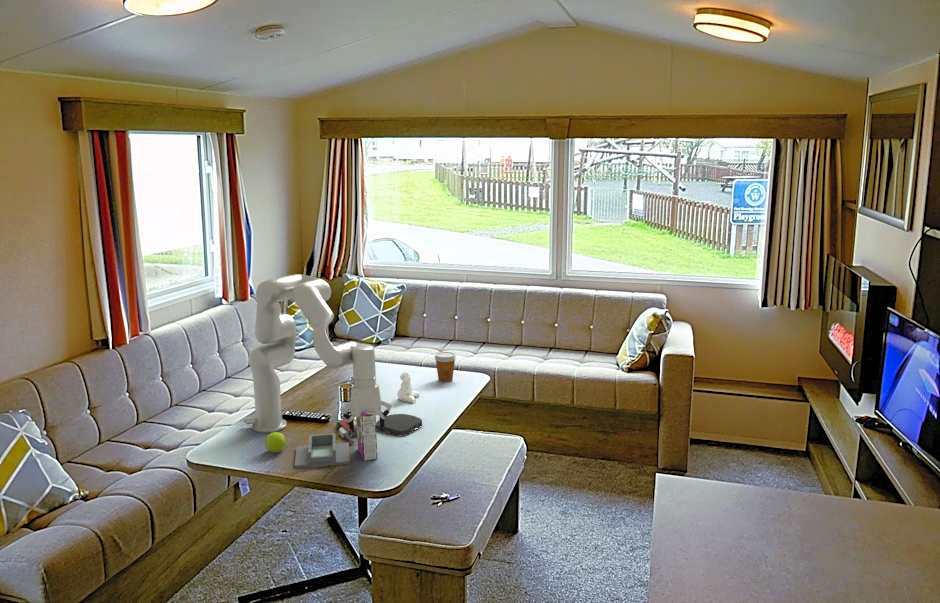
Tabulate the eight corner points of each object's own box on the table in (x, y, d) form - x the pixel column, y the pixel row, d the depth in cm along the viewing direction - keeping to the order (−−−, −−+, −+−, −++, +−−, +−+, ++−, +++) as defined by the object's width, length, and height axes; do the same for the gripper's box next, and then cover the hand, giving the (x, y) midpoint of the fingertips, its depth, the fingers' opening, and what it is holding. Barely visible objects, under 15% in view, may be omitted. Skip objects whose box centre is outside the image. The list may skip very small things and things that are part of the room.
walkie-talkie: (331, 428, 286) (350, 446, 269) (330, 417, 285) (349, 435, 268) (353, 423, 290) (373, 441, 274) (352, 413, 290) (373, 430, 273)
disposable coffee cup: (459, 378, 343) (459, 352, 340) (450, 384, 334) (450, 358, 332) (440, 375, 347) (440, 350, 344) (431, 382, 338) (430, 356, 336)
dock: (294, 468, 251) (293, 454, 250) (296, 449, 267) (296, 435, 265) (349, 464, 254) (349, 450, 253) (348, 445, 270) (348, 431, 269)
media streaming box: (395, 418, 296) (395, 410, 296) (426, 425, 289) (426, 417, 288) (371, 430, 284) (371, 422, 283) (403, 438, 277) (403, 430, 276)
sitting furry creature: (415, 403, 311) (414, 375, 308) (394, 402, 312) (393, 374, 310) (420, 396, 320) (419, 368, 318) (400, 395, 321) (399, 367, 319)
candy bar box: (356, 449, 266) (354, 404, 263) (370, 447, 268) (369, 402, 264) (363, 461, 256) (361, 415, 252) (377, 459, 258) (376, 413, 254)
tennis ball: (265, 456, 260) (264, 437, 259) (265, 449, 267) (264, 430, 265) (286, 454, 262) (285, 435, 261) (285, 446, 269) (284, 428, 267)
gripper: (338, 387, 251) (341, 436, 255) (391, 383, 254) (393, 432, 258) (338, 380, 259) (341, 428, 262) (389, 377, 261) (391, 424, 265)
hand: (367, 430), depth 260 cm, fingers open, 9 cm apart
